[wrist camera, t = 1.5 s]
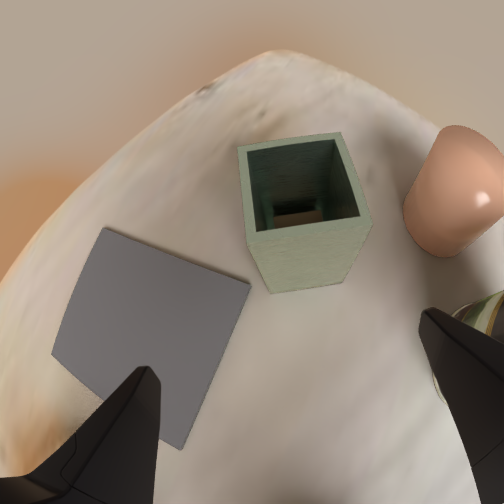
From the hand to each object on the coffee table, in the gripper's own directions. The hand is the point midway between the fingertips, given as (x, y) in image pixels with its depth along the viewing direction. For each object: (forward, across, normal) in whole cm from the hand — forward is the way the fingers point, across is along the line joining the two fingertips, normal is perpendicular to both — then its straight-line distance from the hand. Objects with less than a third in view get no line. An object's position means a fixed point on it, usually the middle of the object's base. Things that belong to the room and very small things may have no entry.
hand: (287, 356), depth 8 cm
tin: (+15, -2, +5) cm, 16 cm away
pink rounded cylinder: (+16, -17, +5) cm, 23 cm away
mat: (+12, +14, +8) cm, 20 cm away
